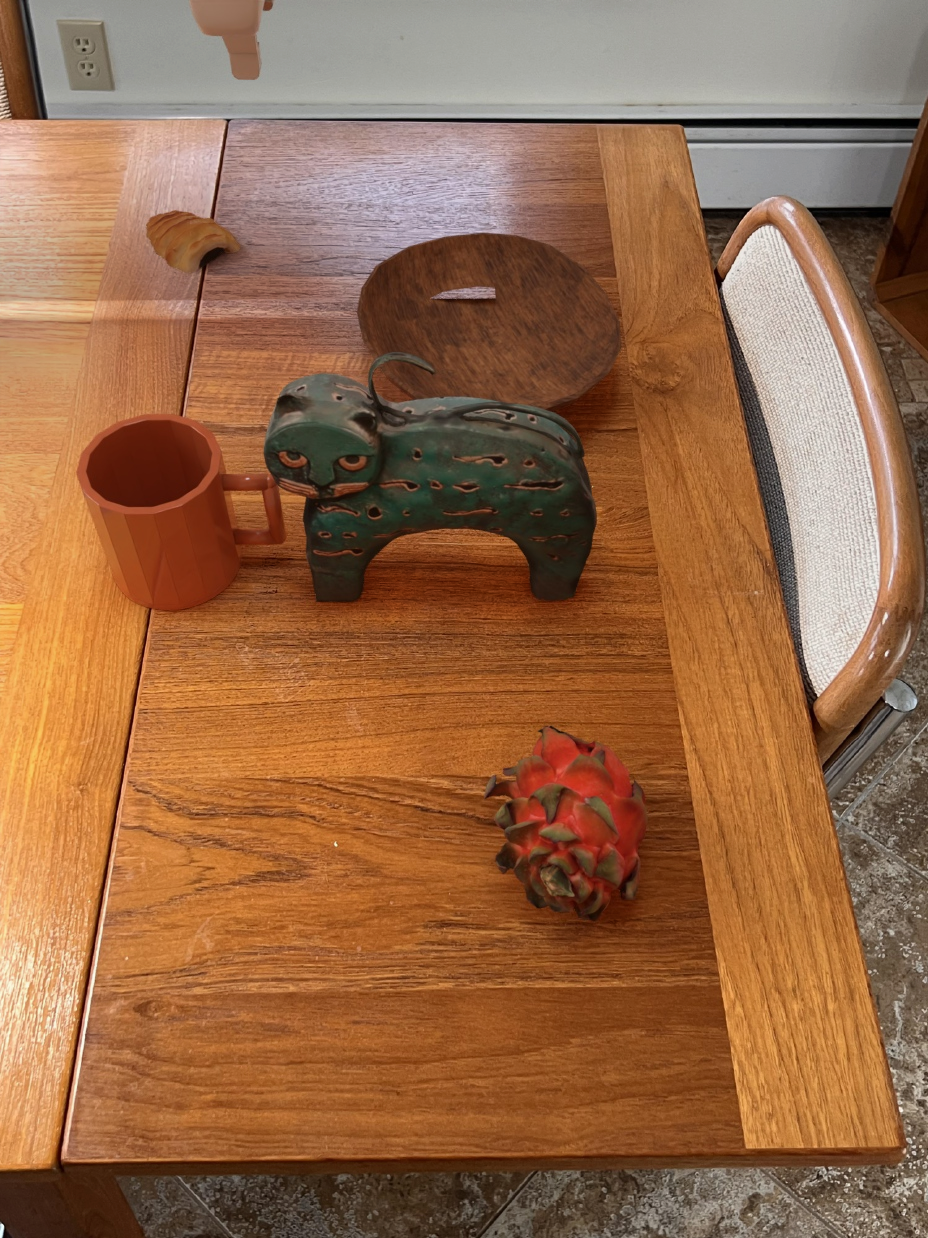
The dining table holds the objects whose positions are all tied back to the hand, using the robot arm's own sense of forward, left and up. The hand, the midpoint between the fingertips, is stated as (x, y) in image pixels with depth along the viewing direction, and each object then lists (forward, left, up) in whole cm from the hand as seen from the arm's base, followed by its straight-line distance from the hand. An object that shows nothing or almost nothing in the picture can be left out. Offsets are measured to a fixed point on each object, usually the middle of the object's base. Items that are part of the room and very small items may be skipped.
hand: (255, 38), depth 78 cm
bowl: (+16, -7, -23) cm, 29 cm away
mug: (-4, -27, -23) cm, 35 cm away
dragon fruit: (+19, -49, -23) cm, 57 cm away
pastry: (-9, +7, -23) cm, 25 cm away
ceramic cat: (+12, -29, -23) cm, 39 cm away
